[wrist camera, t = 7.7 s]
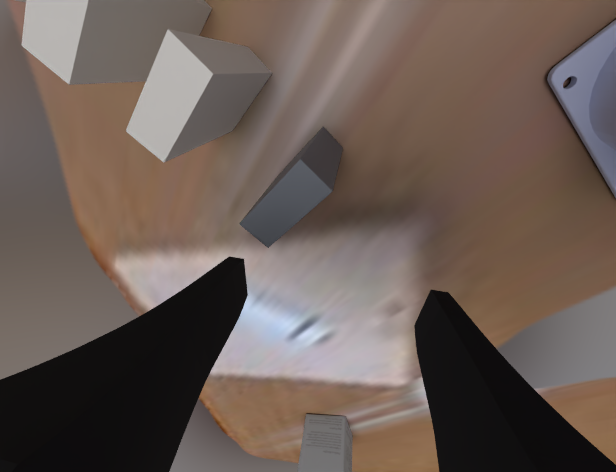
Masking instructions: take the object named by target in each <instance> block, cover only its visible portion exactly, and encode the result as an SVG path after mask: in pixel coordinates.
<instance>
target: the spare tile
mask: <svg viewBox="0 0 616 472" xmlns="http://www.w3.org/2000/svg"><path fill="white" fill-rule="evenodd" d="M342 150H343V147H342V146H341V145H340V144H339V143H338V142H337V141H336V140H335V139H334V138H333V137H332V136H331V135H330V133H329V132H328V131H327V130H326V129H325V128H324V127H322V128H321V129H320V131H319V132H318V133H317V134H316V135H315V136H314V137H313V138H312V139H311V140H310V141H309V142H308V144H307V145H306V146H305V147H304V148H303V149H302V150H301V151H300V152H299V153H298V154H297V155H296V157H295V158H294V159H293V160H292V161H291V162H290V163H289V164H288V165H287V166H286V167H285V168H284V170H283V171H282V172H281V173H280V174H279V175H278V176H277V178H276V179H275V180H274V181H273V183H272V184H271V185H270V186H269V187H268V189H267V190H266V191H265V192H264V194H263V195H262V196H261V197H260V199H259V200H258V201H257V202H256V204H255V205H254V206H253V207H252V209H251V210H250V211H249V212H248V214H247V215H246V216H245V217H244V219H243V220H242V221H241V222H240V225H241V226H242V227H244V228H245V229H246V230H247V231H248V232H250V233H251V234H252V235H253V236H254V237H256V238H257V239H258V240H259V241H260V242H262V243H263V244H264V245H265V246H266V247H268V248H269V247H270V246H271V245H272V244H273V243H274V242H275V241H277V240H278V239H279V238H280V237H281V236H282V235H283V234H284V233H286V232H287V231H288V230H289V229H290V228H291V227H292V226H294V225H295V224H296V223H297V222H298V221H299V220H300V219H302V218H303V217H304V216H305V215H306V214H307V213H308V212H310V211H311V210H312V209H313V208H314V207H315V206H316V205H318V204H319V203H320V202H321V201H322V200H323V199H324V198H326V197H327V196H328V195H329V194H330V193H331V192H332V191H333V188H334V183H335V179H336V175H337V171H338V167H339V163H340V159H341V154H342Z"/></svg>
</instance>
